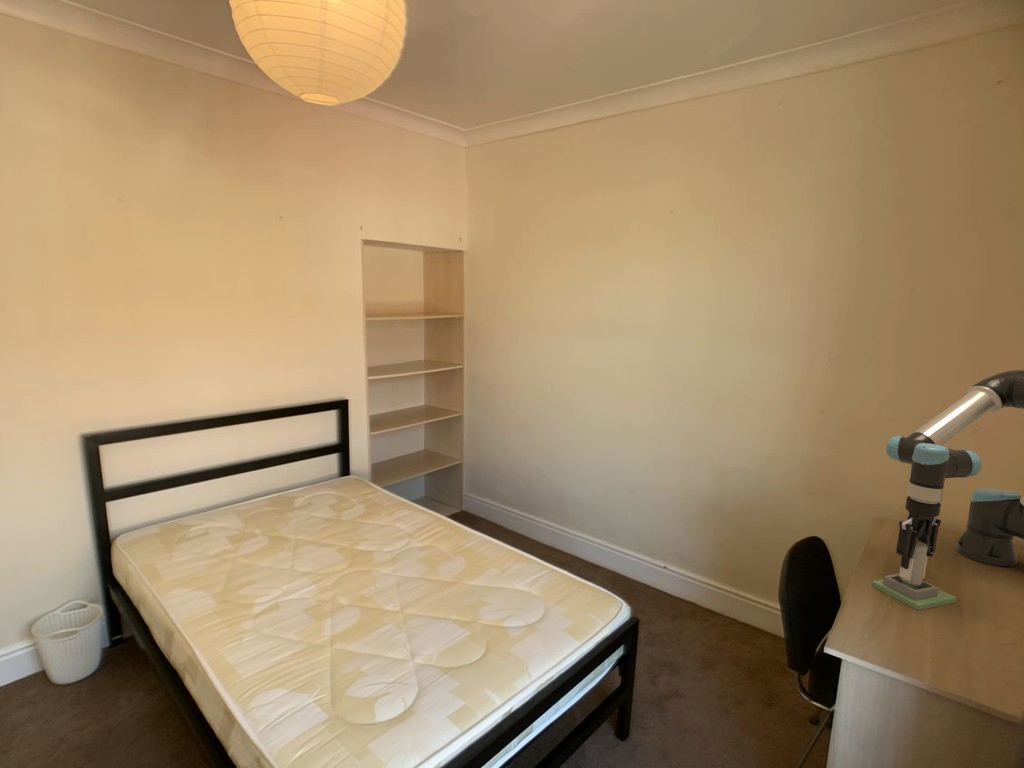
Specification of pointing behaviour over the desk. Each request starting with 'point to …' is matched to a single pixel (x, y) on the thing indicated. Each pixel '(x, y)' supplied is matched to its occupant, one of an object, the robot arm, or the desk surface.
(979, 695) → the desk surface
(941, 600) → the green tray with frame
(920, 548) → the beverage can
